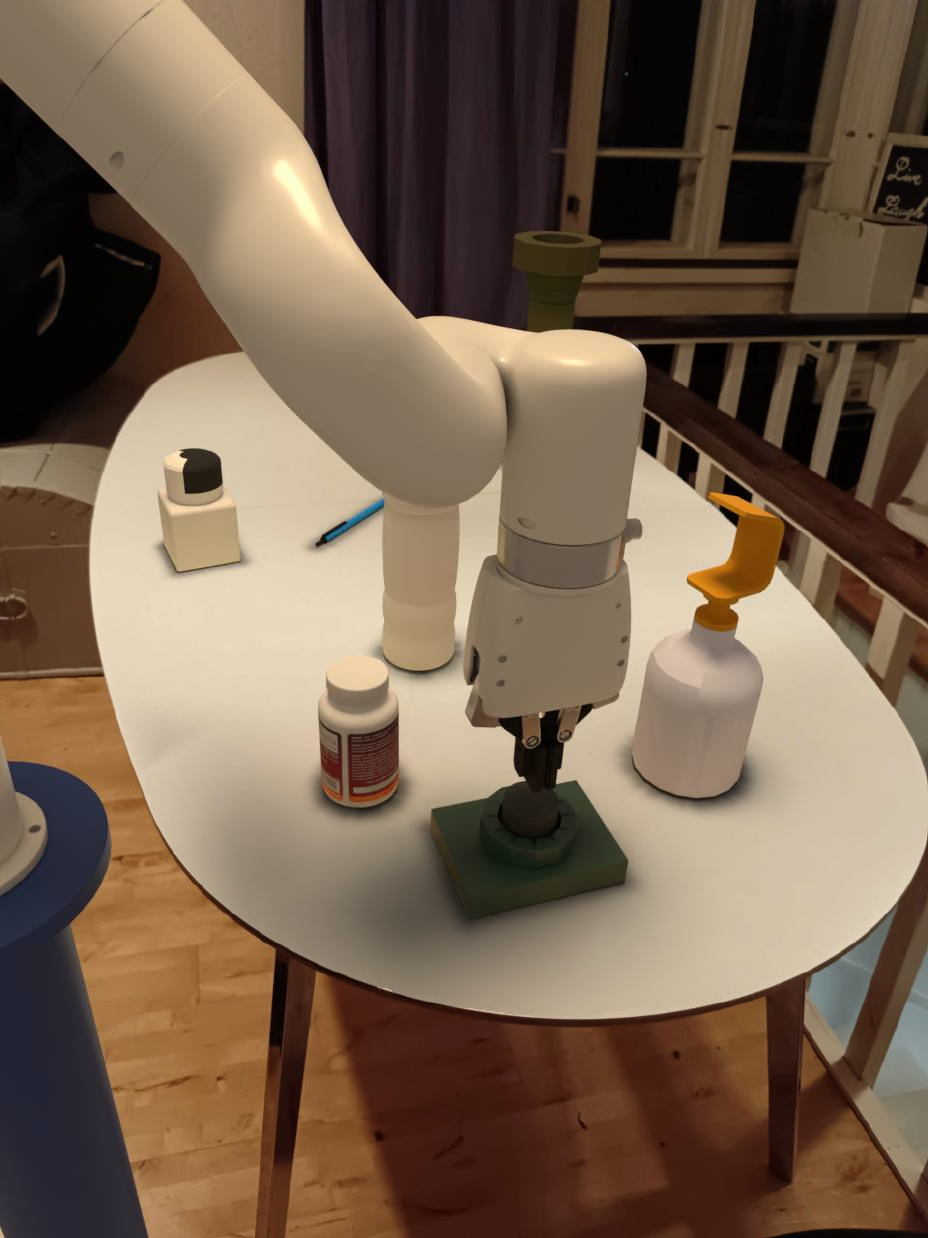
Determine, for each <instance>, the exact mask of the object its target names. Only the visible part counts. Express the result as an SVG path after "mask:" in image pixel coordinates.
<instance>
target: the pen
mask: <svg viewBox="0 0 928 1238" xmlns="http://www.w3.org/2000/svg"><path fill="white" fill-rule="evenodd" d="M384 503H385V500H384V497H383V498H382V499H380V500H378V501H376V502H375V503H373V504H372V505H370V506H369V507H367V508H365V509H364V510H362V511H361V512H359V513H358V514H356V515H354V516H353V517H351V518H350V519H348V520H344V521H341V522H340V523H339V524H337V525H335V526H334V527H333V528H331V529H329V530H328V531H326V532H324V533H323V534H322V535H321V537H320V538H319V540H318V541H317V542H315V543H314V545H315V546H316V547H318V546H320V545H322V544H326V543H328V542H330V541H331V540H333V539H334V538H337V537H338V536H340V535H341V534H342V533H344V532H346V531H347V530H349V529H350V528H352V527H353V526H355V525H357V524H358V523H360V522H362V521H363V520H365V519H366V518H368V517H369V516H371V515H372V514H374V513H375V512H377V511H379V510H380V509H383V508H384Z"/></svg>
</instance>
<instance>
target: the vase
mask: <svg viewBox="0 0 928 1238" xmlns="http://www.w3.org/2000/svg"><path fill="white" fill-rule="evenodd" d="M513 239H514V240H513V249H512V250H513V251H512V252H513V253H512V264H511V265H512V267H513V268H515V269H517V270H519V271H522V272H525V273H524V274H525V278H526V285H527V291H528V297H529V301H528V311H527V325H526V330H525V331H528V332H535V333H541V332H545V331H552V330H574V329H573V327H574V316H575V305H576V300H577V297H578V294H579V291H580V290H581V286H582V283H583V280H584V278H585V276H589V275H592V274H596V273H598V272H599V264H600V257H601V247H602V240H601V238H597V237H595V236H592V235H589V234H582V233H577V232H570V231H557V230H556V231H555V230H534V231H533V230H529V231H524V232H518V233H515V235H514V238H513Z"/></svg>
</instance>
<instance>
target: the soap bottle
mask: <svg viewBox="0 0 928 1238" xmlns="http://www.w3.org/2000/svg"><path fill="white" fill-rule="evenodd" d="M707 498H708V499H709V500H711V501H713V502H714V503H716V504H718V505H720V506H721V507H724V508H725V509H727V510H729V511H731V512H732V513H735V514H736V515H738V519H737V525H736V530H735V535H734V538H733V544H732V549H731V552H730V555H729V557H728V559H727V560H726V561H725V562H724V563H723V564H720V565H718V566H714V567H710V568H707V569H703V570H699V571H696V572H692V573H689V574H688V575H687V577H686V584H687V585H689V586H690V587H691V588H693V589H695V590H696V591H698V592H699V593H701V595H702V596H703V598H704V599H705V600H707V603H703V604H701V605H699V606H697V607H696V609H695V610H694V614H693V620H692V624H691V628H688V629H684V630H682V631H677V632H675V633H671V634H670V635H667V636H665V637H663V638H662V639H661V640H660V641H659V642H657V643H655V645H654V647H653V648H652V650H651V651H650V653H649V656H648V659H647V662H646V666H645V667H646V668H645V672H644V677H643V684H642V689H641V695H640V701H639V707H638V712H637V717H636V718H637V719H636V724H635V730H634V734H633V740H632V745H631V752H630V753H631V756H632V760H633V763H634V767H635V768H636V769H637V771H638V772H639V773H640V775H641V776H642V777H643V779H645V780H646V781H648V782H649V783H651V784H652V785H654V786H655V787H656V788H658V789H660V790H662V791H664V792H667V793H671V794H673V795H676V796H681V797H687V798H693V799H701V798H710V797H711V798H712V797H716V796H719V795H721V794H723V793H725V792H727V791H729V790H730V789H731V788H732V787H733V786H734V785H735V784H736V782H737V781H738V780H739V779H740V775H741V771H742V768H743V763H744V759H745V757H746V756H745V755H746V751H747V748H748V745H749V740H750V737H751V732H752V729H753V725H754V721H755V717H756V714H757V710H758V705H759V701H760V697H761V694H762V690H763V684H764V673H763V669H762V665H761V663H760V660H759V659H758V657H757V656H756V655H755V654H754V653H753V652H752V651H751V650H750V649H749V648H748V647H747V646H746V645H745V644H744V643H743V642H742V641H740V640H739V639H737V638H735V637H736V633H737V628H738V624H739V618H740V617H739V614H738V613H737V612H736V611H735V610H734V609H733V608H731V606H733V605H736V604H737V603H739V602H740V599H745V598H747V597H750V596H751V597H752V596H753V595H757V594H760V593H762V592H763V591H765V590H766V589H767V588H768V587H769V585H771V582H772V580H773V578H774V574H775V571H776V566H777V562H778V559H779V558H778V557H779V554H780V550H781V546H782V542H783V538H784V534H785V523H784V521H783V520H782V519H781V518H779V517H777V516H775V515H773V514H771V513H770V512H768V511H766V510H764V509H762V508H760V507H758V506H756V505H754V504H753V503H751V502H749V501H748V500H745V499H743V498H741V497H739V496H738V495H737V496H736V495H731V494H726V493H725V494H724V493H719V492H714V491H711V492H709V494H708V496H707Z"/></svg>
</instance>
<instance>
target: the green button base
mask: <svg viewBox="0 0 928 1238" xmlns="http://www.w3.org/2000/svg"><path fill="white" fill-rule="evenodd" d="M509 786H510V785H507V786H502V787H500V788H498V789H497V790H496V791H494V792H493V793H491V794H490V795H489V796H488V797H485V798H484V797H483V798H479V799H475V800H469V801H464V802H458V803H453V804H450V805H449V804H448V805H444V806H439V807H434V808H431V810H430V812H431V813H430V832H431V834H432V837H433V839H434V842H435V843H436V846H437V848H438V851H439V853H440V856H441V858H442V861H443V863H444V865H445V867H446V869H447V873H448V874H449V876H450V879H451V881H452V884H453V886H454V888H455V891H456V893H457V895H458V898H459V900H460V903H461V904H462V907H463V910H464V911H465V914H466V916H467V919H468V920H473V919H476V918H481V917H485V916H488V915H493V914H497V913H501V912H506V911H510V910H514V909H518V908H522V907H523V908H524V907H526V906H527V907H528V906H531V905H536V904H539V903H543V902H547V901H548V902H549V901H551V900H556V899H560V898H564V897H569V896H572V895H576V894H580V893H585V892H589V891H593V890H598V889H602V888H606V887H611V886H615V885H619V884H622V883H625V881H626V877H627V871H628V865H629V859H628V858H627V856H626V854H625V853H624V851H623V850H622V847H620V845H619V843H618V842H617V840H616V839H615V837H614V836H613V834H612V832H611V831H610V830H609V828H608V827H607V825H606V824H605V822H604V820H603V819H602V817H601V815H600V814H599V813H598V811H597V809H596V808H595V806H594V805H593V803H592V802H591V800H590V799H589V797H588V795H587V794H586V792H585V791H584V790H583V788H582V787H581V784H580V783H579V782H578V780H577V779H574V780H569V781H565V782H559V783H556V787H555V788H554V789H553V790H554V791H555V792H556V794H557V796H558V798H559V809H558V816H557V824H556V827H555V829H554V830H553V832H552V833H551V834H549V835H548V836H546V837H542V838H538V839H529V838H523V837H517V836H515V835H513V834H512V833H510V832H509V831H508V830H507V829H506V828H505V827H504V825H503V823H502V806H503V796H504V793H505V791H506V790H507V788H508V787H509Z"/></svg>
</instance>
